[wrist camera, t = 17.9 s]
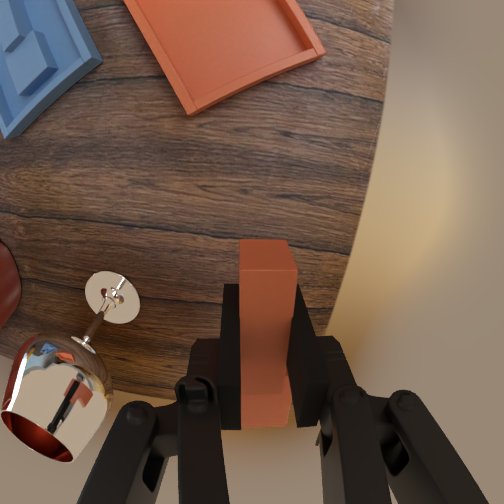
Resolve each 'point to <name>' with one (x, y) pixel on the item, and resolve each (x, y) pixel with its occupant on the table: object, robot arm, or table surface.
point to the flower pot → (8, 285)
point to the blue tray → (66, 57)
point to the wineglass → (66, 377)
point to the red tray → (224, 44)
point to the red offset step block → (265, 330)
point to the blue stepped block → (24, 48)
